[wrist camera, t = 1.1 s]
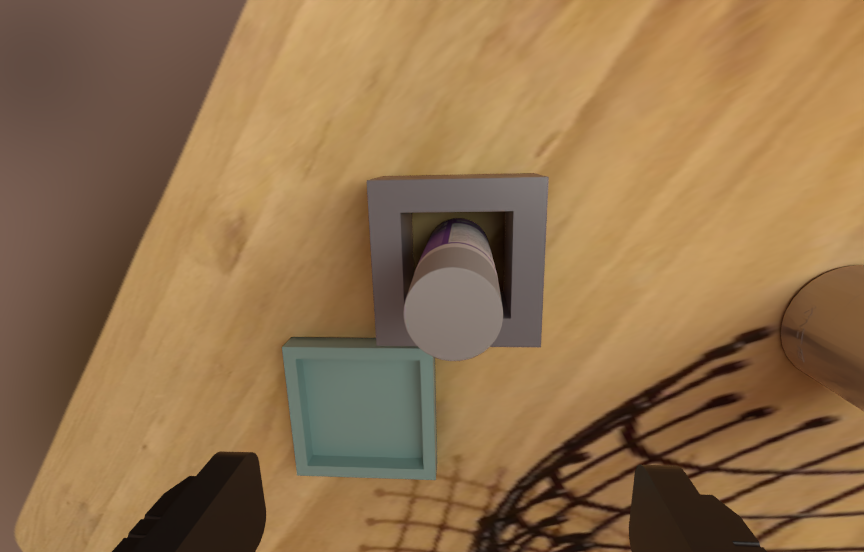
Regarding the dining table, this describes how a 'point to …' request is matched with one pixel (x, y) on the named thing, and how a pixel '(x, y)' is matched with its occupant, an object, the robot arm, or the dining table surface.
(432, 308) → the container
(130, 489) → the dining table surface
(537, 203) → the bay
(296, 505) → the dining table surface
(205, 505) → the robot arm
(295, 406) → the tray
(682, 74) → the dining table surface
